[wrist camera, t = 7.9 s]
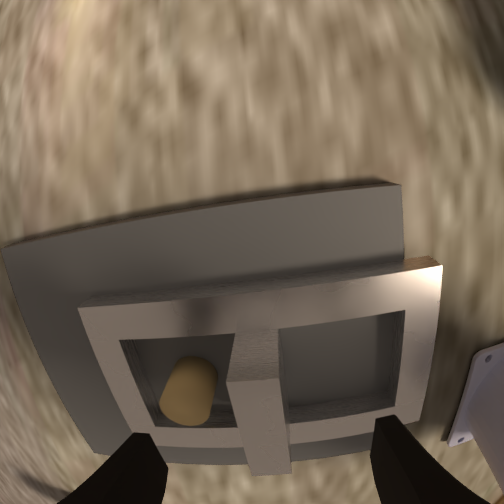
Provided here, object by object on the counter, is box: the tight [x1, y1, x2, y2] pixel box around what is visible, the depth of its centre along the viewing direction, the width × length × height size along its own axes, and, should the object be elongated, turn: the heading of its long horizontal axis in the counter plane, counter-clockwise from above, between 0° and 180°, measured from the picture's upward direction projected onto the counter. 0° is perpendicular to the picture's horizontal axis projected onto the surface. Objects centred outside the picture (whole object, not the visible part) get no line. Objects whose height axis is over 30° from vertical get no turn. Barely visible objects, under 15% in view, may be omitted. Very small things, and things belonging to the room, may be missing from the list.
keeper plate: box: [1, 183, 404, 465], centre depth 13 cm, size 18×14×3 cm
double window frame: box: [78, 256, 442, 476], centre depth 11 cm, size 14×8×4 cm, turn 98°
